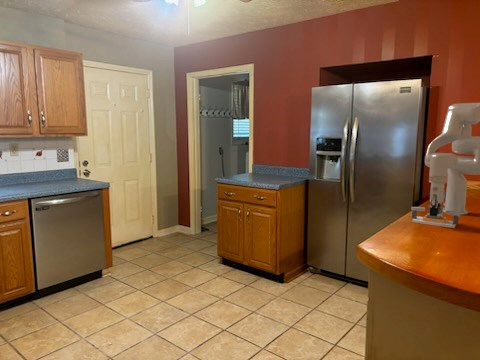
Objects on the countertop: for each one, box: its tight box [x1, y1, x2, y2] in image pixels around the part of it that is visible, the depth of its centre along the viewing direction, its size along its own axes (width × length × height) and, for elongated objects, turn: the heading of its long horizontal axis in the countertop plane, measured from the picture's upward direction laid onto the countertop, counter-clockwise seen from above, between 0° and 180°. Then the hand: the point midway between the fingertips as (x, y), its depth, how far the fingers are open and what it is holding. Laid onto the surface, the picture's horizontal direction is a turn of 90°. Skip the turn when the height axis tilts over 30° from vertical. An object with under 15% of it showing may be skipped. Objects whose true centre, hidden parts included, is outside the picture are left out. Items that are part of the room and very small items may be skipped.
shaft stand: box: [411, 206, 462, 229], centre depth 175 cm, size 21×10×7 cm, turn 53°
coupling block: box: [426, 204, 444, 220], centre depth 174 cm, size 5×6×7 cm
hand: (434, 214), depth 174 cm, fingers open, 9 cm apart
